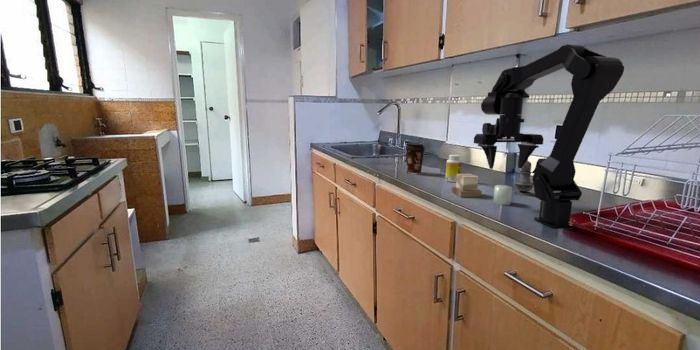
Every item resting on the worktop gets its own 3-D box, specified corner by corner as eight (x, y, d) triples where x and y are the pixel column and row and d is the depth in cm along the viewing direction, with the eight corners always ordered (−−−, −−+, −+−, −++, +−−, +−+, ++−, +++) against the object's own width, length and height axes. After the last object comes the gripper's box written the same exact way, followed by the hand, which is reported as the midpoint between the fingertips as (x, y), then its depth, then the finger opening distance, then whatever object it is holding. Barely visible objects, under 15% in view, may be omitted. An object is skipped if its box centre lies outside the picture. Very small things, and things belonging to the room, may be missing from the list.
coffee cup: (400, 171, 151) (401, 143, 148) (415, 170, 154) (416, 142, 152) (411, 175, 143) (412, 144, 140) (427, 174, 146) (429, 144, 144)
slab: (481, 198, 108) (481, 190, 108) (460, 199, 108) (461, 191, 107) (470, 193, 115) (471, 186, 115) (451, 193, 114) (451, 186, 114)
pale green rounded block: (514, 204, 99) (515, 188, 98) (498, 205, 99) (500, 188, 98) (504, 200, 104) (506, 184, 103) (490, 201, 103) (491, 185, 102)
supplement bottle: (459, 182, 129) (461, 156, 127) (444, 181, 131) (446, 155, 129) (460, 180, 134) (462, 154, 132) (446, 179, 136) (448, 154, 134)
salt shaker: (535, 196, 110) (539, 159, 107) (516, 195, 111) (520, 159, 109) (529, 192, 115) (533, 157, 113) (511, 191, 116) (515, 156, 114)
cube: (477, 190, 109) (478, 176, 108) (462, 190, 108) (463, 176, 107) (470, 186, 114) (471, 173, 113) (455, 187, 113) (456, 173, 112)
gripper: (522, 114, 106) (517, 163, 108) (466, 114, 103) (463, 164, 106) (547, 115, 95) (541, 169, 98) (485, 114, 92) (481, 170, 95)
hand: (505, 168), depth 99 cm, fingers open, 9 cm apart
